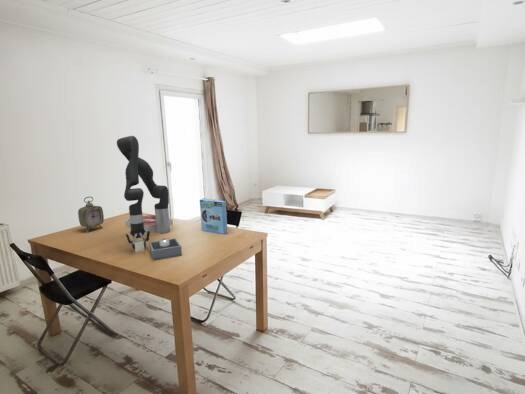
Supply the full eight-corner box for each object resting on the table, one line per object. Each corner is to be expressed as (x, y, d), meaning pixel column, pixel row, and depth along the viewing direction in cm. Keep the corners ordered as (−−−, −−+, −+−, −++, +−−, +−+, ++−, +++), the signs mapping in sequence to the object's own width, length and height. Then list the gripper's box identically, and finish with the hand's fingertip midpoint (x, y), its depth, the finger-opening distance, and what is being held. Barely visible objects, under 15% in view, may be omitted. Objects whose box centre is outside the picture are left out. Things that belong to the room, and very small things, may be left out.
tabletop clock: (86, 233, 228) (81, 199, 222) (79, 231, 232) (74, 198, 227) (105, 228, 240) (101, 195, 235) (97, 226, 244) (93, 194, 239)
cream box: (134, 248, 196) (133, 240, 195) (143, 247, 198) (142, 238, 197) (135, 251, 191) (134, 243, 190) (144, 250, 193) (143, 241, 192)
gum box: (227, 232, 224) (226, 200, 220) (223, 234, 220) (221, 202, 215) (205, 228, 234) (204, 198, 229) (201, 230, 229) (199, 199, 225)
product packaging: (150, 220, 261) (149, 214, 260) (172, 225, 245) (172, 219, 244) (126, 226, 244) (125, 220, 243) (148, 233, 228) (147, 226, 227)
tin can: (159, 250, 189) (158, 239, 187) (169, 248, 191) (167, 237, 190) (161, 254, 184) (160, 242, 182) (171, 251, 187) (170, 240, 185)
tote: (149, 251, 191) (149, 242, 190) (176, 246, 198) (175, 238, 197) (153, 260, 178) (152, 250, 176) (181, 255, 184) (181, 246, 183)
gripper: (124, 224, 185) (127, 252, 188) (150, 221, 191) (152, 248, 194) (123, 221, 191) (126, 248, 195) (148, 218, 197) (150, 244, 201)
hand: (139, 248), depth 194 cm, fingers closed on cream box, 5 cm apart
